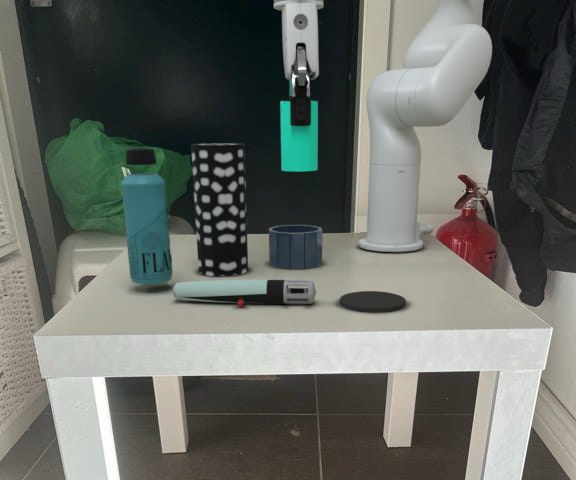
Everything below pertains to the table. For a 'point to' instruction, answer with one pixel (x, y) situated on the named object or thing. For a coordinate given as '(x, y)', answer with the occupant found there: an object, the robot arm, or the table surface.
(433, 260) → the table surface
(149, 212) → the beverage bottle
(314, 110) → the candle
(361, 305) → the coaster
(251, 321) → the table surface
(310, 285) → the flashlight
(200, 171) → the spotted tube
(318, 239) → the holder
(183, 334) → the table surface
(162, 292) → the table surface
